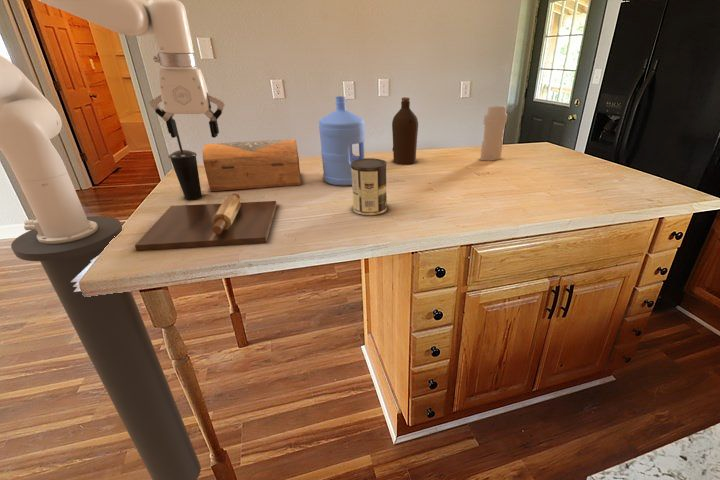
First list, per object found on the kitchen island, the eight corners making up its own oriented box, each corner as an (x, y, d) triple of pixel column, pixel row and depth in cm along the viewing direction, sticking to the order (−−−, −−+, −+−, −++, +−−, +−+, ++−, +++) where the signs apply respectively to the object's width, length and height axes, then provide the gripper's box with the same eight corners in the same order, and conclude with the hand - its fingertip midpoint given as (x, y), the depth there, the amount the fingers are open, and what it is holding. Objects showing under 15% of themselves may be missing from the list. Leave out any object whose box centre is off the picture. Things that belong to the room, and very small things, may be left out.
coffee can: (377, 200, 125) (376, 156, 118) (392, 211, 117) (393, 164, 110) (347, 206, 120) (344, 160, 113) (361, 218, 112) (359, 169, 105)
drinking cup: (211, 195, 127) (196, 131, 117) (192, 203, 121) (174, 136, 111) (195, 191, 130) (178, 129, 120) (175, 199, 124) (156, 133, 114)
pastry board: (136, 250, 94) (134, 245, 93) (172, 210, 116) (170, 205, 115) (266, 242, 98) (265, 237, 97) (276, 205, 120) (276, 200, 120)
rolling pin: (209, 238, 96) (205, 222, 94) (229, 204, 117) (226, 189, 115) (228, 237, 97) (224, 221, 95) (245, 203, 117) (242, 189, 115)
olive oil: (421, 160, 167) (424, 97, 155) (408, 166, 159) (409, 100, 147) (401, 157, 172) (402, 95, 160) (387, 162, 165) (386, 98, 152)
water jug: (320, 186, 136) (312, 99, 122) (326, 173, 150) (319, 94, 136) (365, 186, 137) (362, 100, 123) (367, 173, 150) (364, 94, 136)
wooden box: (299, 172, 151) (295, 135, 144) (302, 185, 137) (297, 145, 130) (216, 177, 144) (207, 138, 137) (209, 192, 130) (199, 149, 123)
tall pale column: (481, 161, 168) (487, 106, 157) (477, 158, 171) (483, 104, 160) (503, 159, 170) (511, 105, 159) (499, 157, 174) (506, 104, 163)
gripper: (131, 61, 88) (153, 139, 96) (213, 63, 91) (227, 139, 99) (145, 60, 94) (164, 133, 103) (221, 62, 97) (233, 133, 105)
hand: (195, 136), depth 101 cm, fingers open, 9 cm apart
